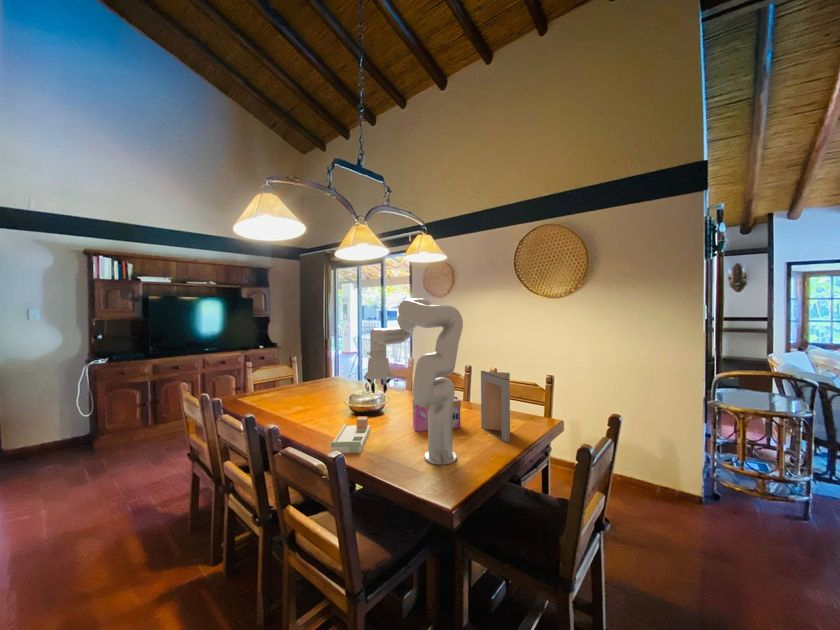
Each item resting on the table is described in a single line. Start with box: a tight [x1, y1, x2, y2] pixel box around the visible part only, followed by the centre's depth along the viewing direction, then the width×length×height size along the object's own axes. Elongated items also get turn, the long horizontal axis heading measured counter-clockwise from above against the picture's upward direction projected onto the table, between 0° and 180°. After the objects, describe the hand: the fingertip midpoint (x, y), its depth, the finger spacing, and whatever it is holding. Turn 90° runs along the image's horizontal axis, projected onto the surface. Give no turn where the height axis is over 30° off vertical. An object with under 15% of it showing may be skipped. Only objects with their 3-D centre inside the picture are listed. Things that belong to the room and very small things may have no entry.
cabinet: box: [480, 370, 511, 444], centre depth 162 cm, size 21×10×28 cm, turn 21°
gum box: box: [412, 396, 462, 432], centre depth 172 cm, size 24×8×14 cm, turn 101°
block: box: [356, 416, 369, 429], centre depth 166 cm, size 4×4×4 cm
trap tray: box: [330, 422, 371, 454], centre depth 156 cm, size 26×12×4 cm, turn 0°
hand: (379, 392), depth 165 cm, fingers open, 4 cm apart
